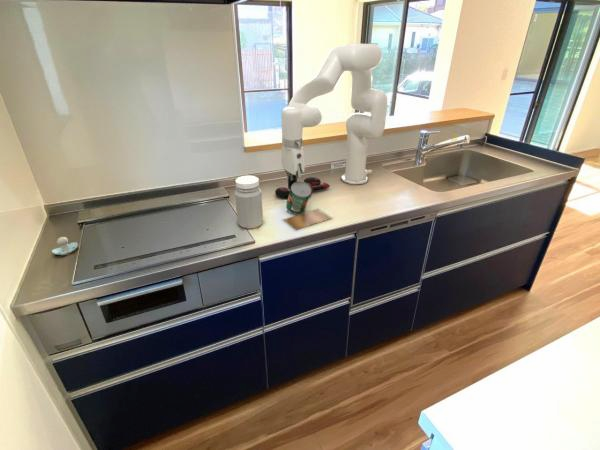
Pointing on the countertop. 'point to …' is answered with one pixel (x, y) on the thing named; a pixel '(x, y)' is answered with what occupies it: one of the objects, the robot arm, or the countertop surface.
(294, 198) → the canned tomato
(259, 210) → the jar
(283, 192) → the toy motorcycle
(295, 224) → the mat
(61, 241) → the pacifier
